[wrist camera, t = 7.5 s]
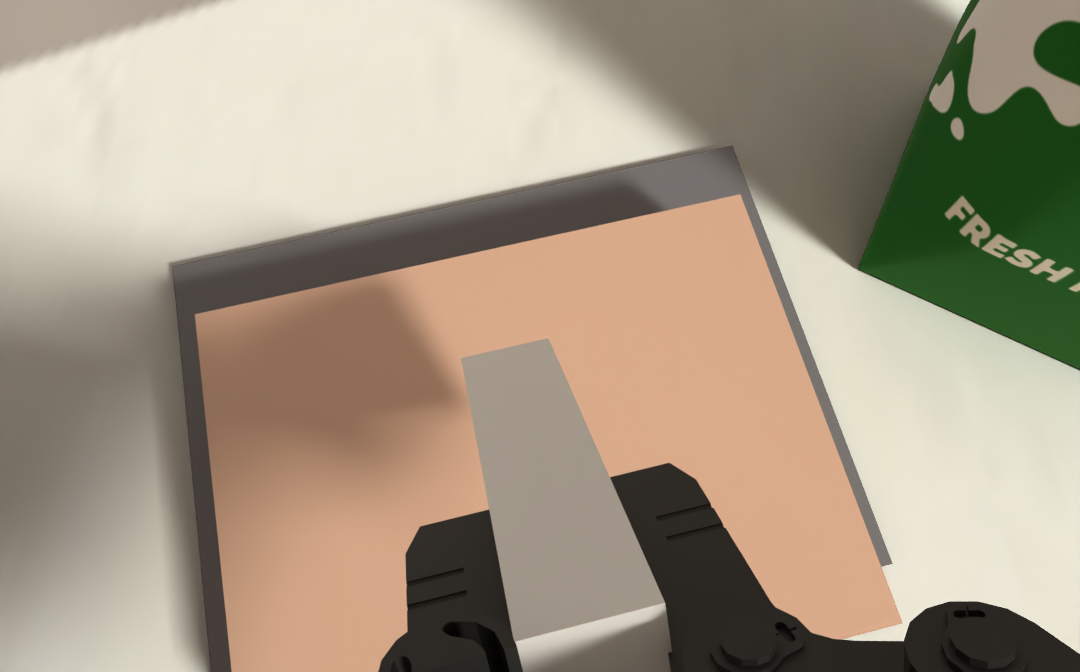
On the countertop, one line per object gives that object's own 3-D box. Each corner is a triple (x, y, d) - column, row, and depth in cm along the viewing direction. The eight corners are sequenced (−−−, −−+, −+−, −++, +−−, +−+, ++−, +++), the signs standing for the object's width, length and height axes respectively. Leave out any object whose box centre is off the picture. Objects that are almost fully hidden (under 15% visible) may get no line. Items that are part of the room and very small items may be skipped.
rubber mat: (885, 565, 20) (892, 563, 20) (224, 737, 19) (217, 739, 19) (729, 153, 24) (732, 145, 24) (178, 272, 23) (172, 266, 23)
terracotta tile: (902, 623, 17) (740, 194, 20) (244, 798, 16) (194, 314, 19) (850, 628, 19) (716, 251, 23) (291, 776, 18) (240, 358, 22)
